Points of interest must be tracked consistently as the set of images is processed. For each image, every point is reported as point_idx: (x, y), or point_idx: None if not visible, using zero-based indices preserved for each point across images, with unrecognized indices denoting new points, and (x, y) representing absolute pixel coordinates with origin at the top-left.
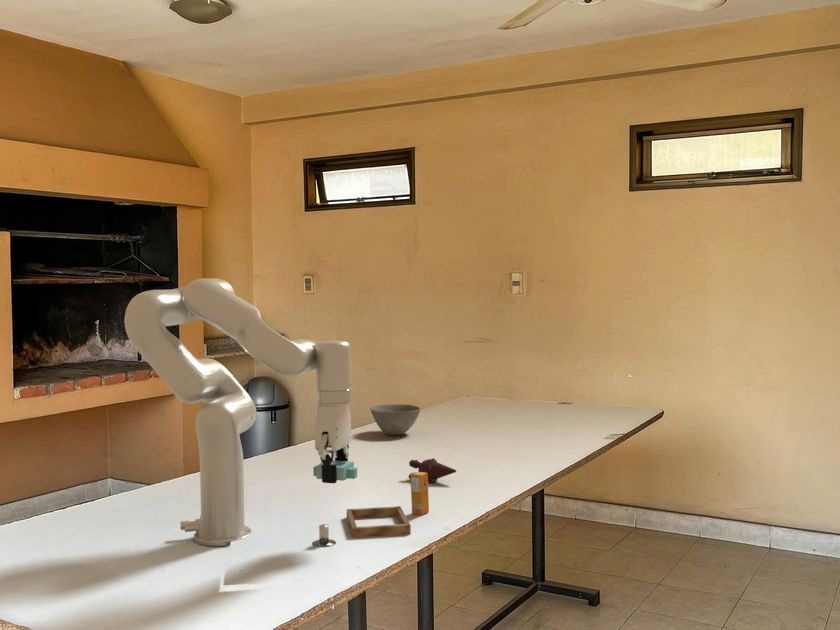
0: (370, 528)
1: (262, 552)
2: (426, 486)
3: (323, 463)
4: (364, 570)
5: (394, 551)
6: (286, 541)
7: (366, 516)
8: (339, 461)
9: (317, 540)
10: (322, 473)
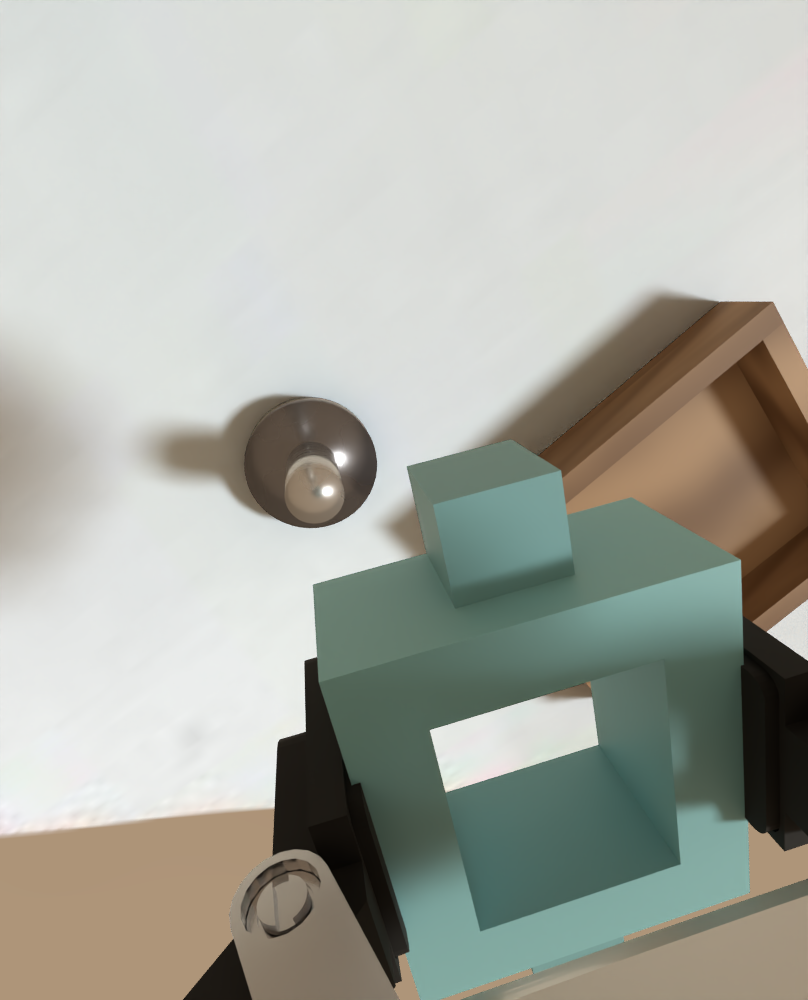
0: None
1: (35, 191)
2: None
3: (232, 949)
4: (178, 774)
5: (433, 736)
6: (278, 197)
7: (769, 403)
8: (710, 760)
9: (327, 409)
10: (308, 728)
